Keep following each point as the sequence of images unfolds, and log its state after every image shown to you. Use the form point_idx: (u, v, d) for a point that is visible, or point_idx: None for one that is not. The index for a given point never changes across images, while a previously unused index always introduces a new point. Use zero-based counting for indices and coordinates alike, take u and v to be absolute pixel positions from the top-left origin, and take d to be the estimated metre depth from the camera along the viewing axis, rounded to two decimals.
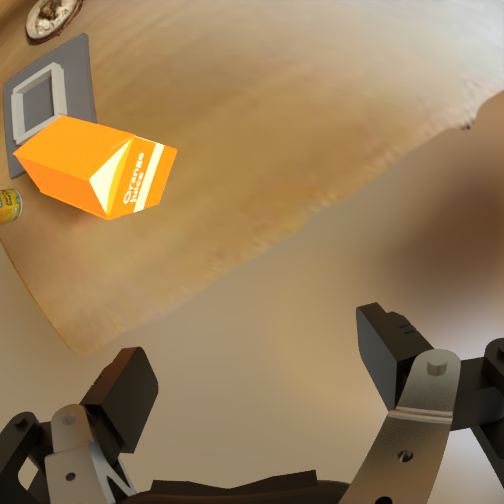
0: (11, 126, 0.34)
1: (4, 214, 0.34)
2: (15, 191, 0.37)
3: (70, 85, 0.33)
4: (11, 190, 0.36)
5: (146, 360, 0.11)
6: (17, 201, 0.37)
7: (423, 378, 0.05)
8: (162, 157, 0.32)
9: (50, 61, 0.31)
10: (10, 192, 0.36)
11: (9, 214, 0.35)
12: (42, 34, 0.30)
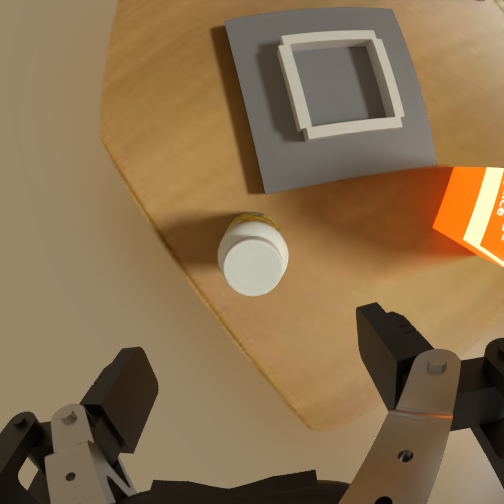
0: (264, 99, 0.25)
1: None
2: (270, 218, 0.28)
3: (393, 77, 0.24)
4: (267, 216, 0.27)
5: (146, 360, 0.11)
6: None
7: (423, 378, 0.05)
8: None
9: (343, 23, 0.22)
10: (273, 221, 0.27)
11: None
12: None
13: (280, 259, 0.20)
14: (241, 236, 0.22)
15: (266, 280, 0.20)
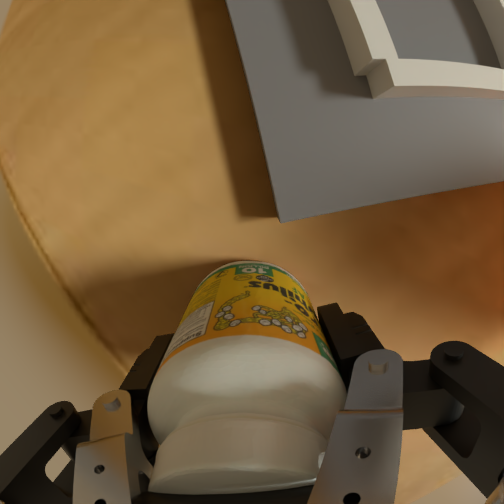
0: (274, 7, 0.09)
1: None
2: (291, 276, 0.12)
3: None
4: (283, 277, 0.11)
5: None
6: None
7: (366, 378, 0.06)
8: None
9: None
10: (298, 291, 0.11)
11: None
12: None
13: None
14: (207, 396, 0.06)
15: None
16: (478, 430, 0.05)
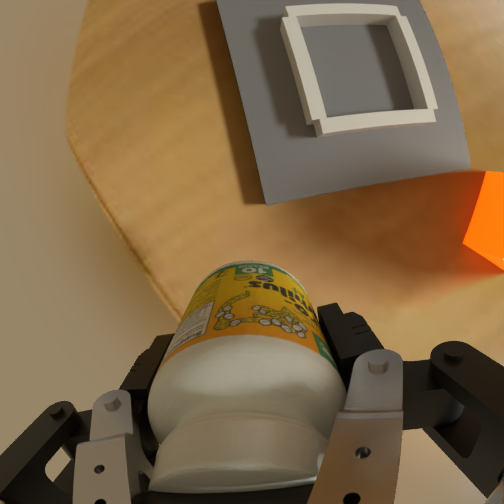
0: (264, 84, 0.19)
1: None
2: (290, 276, 0.12)
3: None
4: (283, 276, 0.11)
5: None
6: None
7: (366, 378, 0.06)
8: None
9: None
10: (298, 291, 0.11)
11: None
12: None
13: None
14: (207, 396, 0.06)
15: None
16: (478, 430, 0.05)
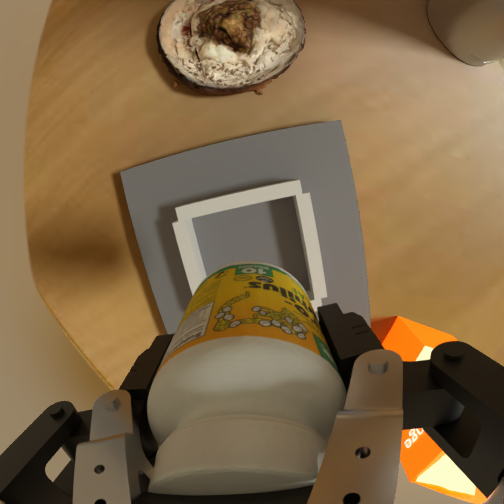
0: (168, 277, 0.25)
1: None
2: (291, 277, 0.12)
3: (326, 232, 0.24)
4: (283, 277, 0.11)
5: None
6: None
7: (366, 378, 0.06)
8: None
9: (264, 160, 0.22)
10: (298, 292, 0.11)
11: None
12: (222, 81, 0.21)
13: None
14: (207, 397, 0.06)
15: None
16: (478, 430, 0.05)
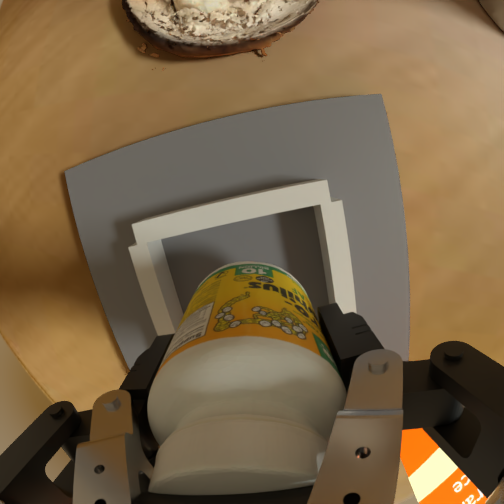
0: (132, 319, 0.17)
1: None
2: (291, 277, 0.12)
3: (360, 259, 0.16)
4: (283, 277, 0.11)
5: None
6: None
7: (366, 378, 0.06)
8: None
9: (270, 148, 0.14)
10: (298, 292, 0.11)
11: None
12: (207, 35, 0.13)
13: None
14: (207, 397, 0.06)
15: None
16: (478, 430, 0.05)
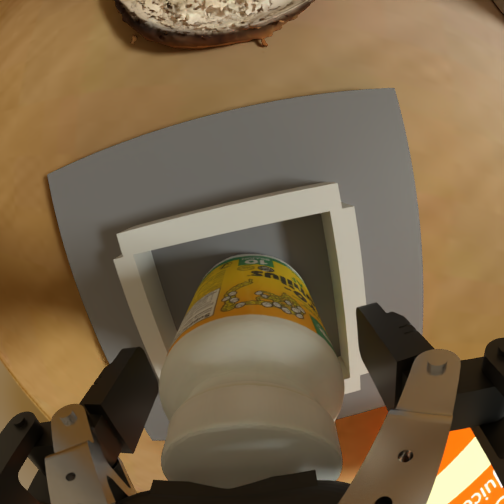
0: (122, 335, 0.15)
1: None
2: (290, 268, 0.13)
3: (372, 270, 0.14)
4: (283, 268, 0.12)
5: (146, 360, 0.11)
6: None
7: (423, 378, 0.05)
8: None
9: (272, 147, 0.13)
10: (297, 281, 0.12)
11: None
12: (202, 23, 0.11)
13: (339, 459, 0.05)
14: (216, 369, 0.07)
15: None
16: None
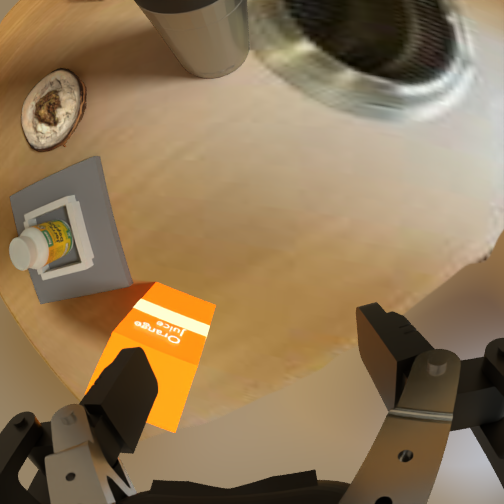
0: None
1: (55, 253, 0.32)
2: (64, 223, 0.35)
3: (91, 224, 0.36)
4: (59, 222, 0.35)
5: (146, 360, 0.11)
6: (67, 236, 0.35)
7: (423, 378, 0.05)
8: None
9: (61, 185, 0.35)
10: (59, 225, 0.34)
11: (60, 252, 0.34)
12: (44, 144, 0.34)
13: (27, 248, 0.27)
14: (22, 236, 0.29)
15: (24, 261, 0.28)
16: None
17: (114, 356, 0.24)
